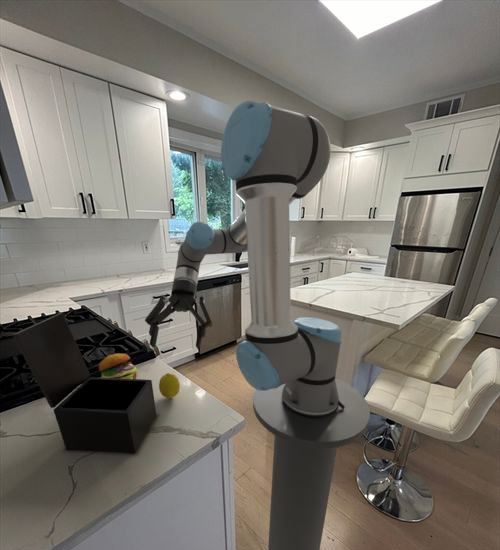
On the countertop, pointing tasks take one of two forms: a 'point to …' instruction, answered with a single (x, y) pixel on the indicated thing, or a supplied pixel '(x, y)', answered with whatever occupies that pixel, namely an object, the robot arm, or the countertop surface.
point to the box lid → (53, 357)
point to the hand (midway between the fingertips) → (175, 346)
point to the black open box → (107, 415)
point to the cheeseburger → (117, 367)
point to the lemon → (169, 385)
